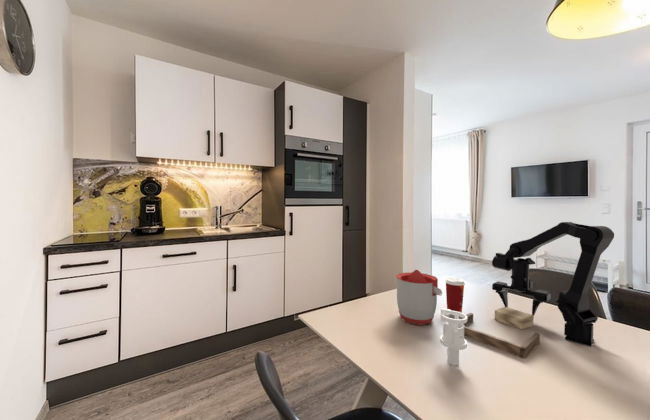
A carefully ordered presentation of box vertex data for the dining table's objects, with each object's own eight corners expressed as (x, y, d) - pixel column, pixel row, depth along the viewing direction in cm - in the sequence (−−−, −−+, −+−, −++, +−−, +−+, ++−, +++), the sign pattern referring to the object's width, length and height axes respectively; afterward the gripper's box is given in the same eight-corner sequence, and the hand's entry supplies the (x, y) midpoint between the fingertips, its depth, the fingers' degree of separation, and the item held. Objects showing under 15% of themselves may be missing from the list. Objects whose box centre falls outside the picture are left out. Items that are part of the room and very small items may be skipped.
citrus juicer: (435, 333, 97) (436, 277, 97) (389, 320, 108) (390, 270, 107) (446, 319, 110) (447, 269, 109) (404, 308, 120) (404, 263, 120)
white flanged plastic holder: (443, 352, 84) (444, 304, 84) (469, 361, 80) (470, 310, 80) (436, 363, 79) (437, 311, 79) (463, 372, 75) (464, 318, 74)
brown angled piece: (539, 342, 91) (539, 333, 91) (524, 358, 82) (524, 348, 81) (470, 320, 109) (470, 312, 108) (450, 331, 99) (451, 322, 99)
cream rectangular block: (533, 325, 105) (533, 315, 105) (522, 330, 101) (522, 319, 101) (505, 316, 114) (505, 306, 113) (494, 320, 110) (494, 310, 110)
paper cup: (468, 316, 113) (468, 282, 112) (449, 315, 113) (449, 282, 112) (459, 308, 120) (459, 277, 120) (441, 308, 121) (441, 277, 120)
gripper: (555, 275, 109) (554, 314, 109) (502, 266, 123) (501, 301, 124) (546, 279, 102) (546, 321, 102) (491, 270, 116) (491, 306, 117)
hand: (519, 311), depth 111 cm, fingers open, 9 cm apart
